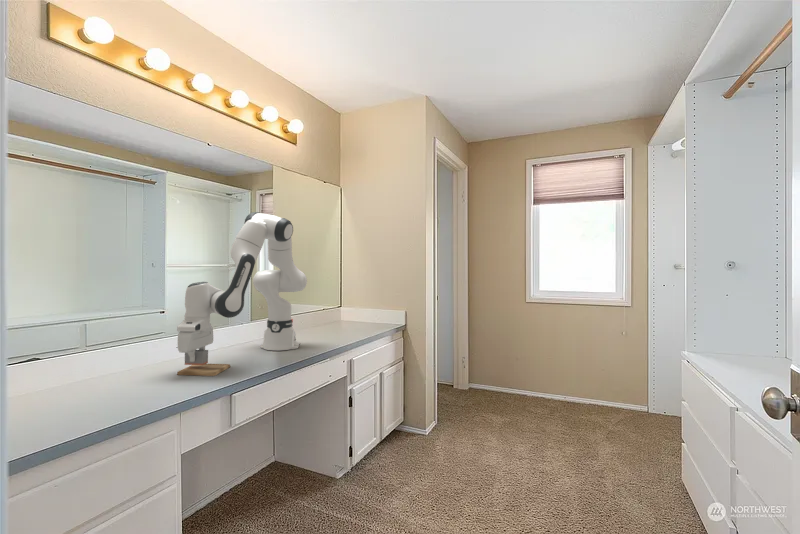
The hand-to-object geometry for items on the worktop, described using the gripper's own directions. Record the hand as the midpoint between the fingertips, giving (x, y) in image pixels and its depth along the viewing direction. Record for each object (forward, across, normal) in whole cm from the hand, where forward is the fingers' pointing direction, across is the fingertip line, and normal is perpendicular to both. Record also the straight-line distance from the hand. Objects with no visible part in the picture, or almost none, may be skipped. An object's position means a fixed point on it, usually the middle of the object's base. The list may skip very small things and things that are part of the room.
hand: (196, 359), depth 157 cm
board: (+4, 0, +3) cm, 5 cm away
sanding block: (+2, 0, 0) cm, 2 cm away
